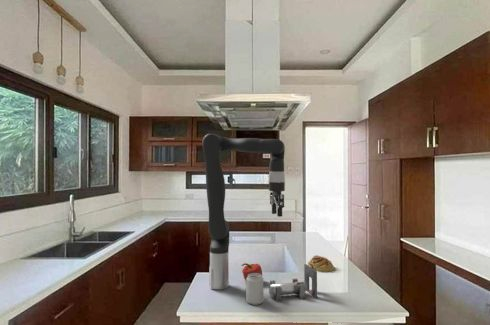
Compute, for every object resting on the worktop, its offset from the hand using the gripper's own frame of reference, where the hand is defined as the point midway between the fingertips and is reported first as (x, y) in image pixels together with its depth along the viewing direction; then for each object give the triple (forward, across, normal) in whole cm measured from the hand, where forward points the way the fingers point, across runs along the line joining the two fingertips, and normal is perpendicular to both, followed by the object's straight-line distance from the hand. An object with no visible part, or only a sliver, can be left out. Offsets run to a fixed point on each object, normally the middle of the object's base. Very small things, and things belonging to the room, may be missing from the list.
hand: (276, 215), depth 168 cm
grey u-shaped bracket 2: (+36, +8, +8) cm, 38 cm away
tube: (+35, +8, +2) cm, 36 cm away
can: (+36, +11, -14) cm, 40 cm away
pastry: (+36, -27, +35) cm, 57 cm away
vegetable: (+36, -14, -9) cm, 40 cm away
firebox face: (+36, +8, +14) cm, 39 cm away
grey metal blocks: (+36, +8, -3) cm, 37 cm away
